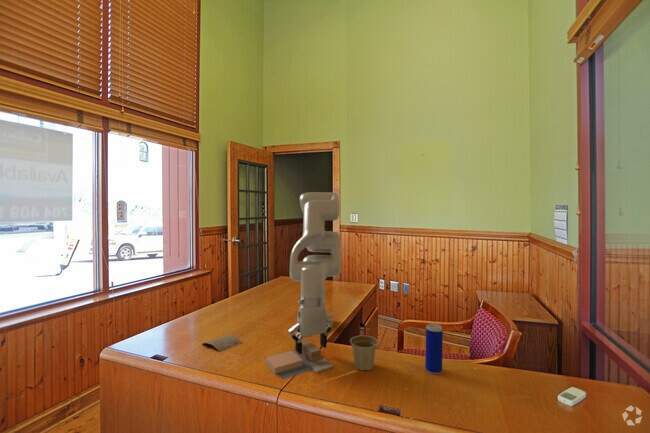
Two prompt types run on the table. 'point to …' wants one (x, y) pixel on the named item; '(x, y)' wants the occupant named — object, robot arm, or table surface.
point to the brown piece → (314, 357)
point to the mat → (296, 370)
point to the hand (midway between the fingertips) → (311, 349)
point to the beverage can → (434, 348)
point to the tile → (284, 362)
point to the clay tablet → (225, 342)
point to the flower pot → (364, 351)
